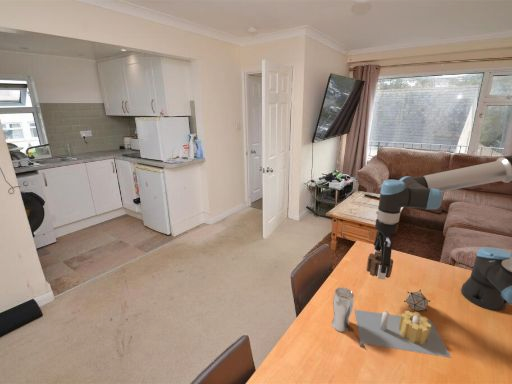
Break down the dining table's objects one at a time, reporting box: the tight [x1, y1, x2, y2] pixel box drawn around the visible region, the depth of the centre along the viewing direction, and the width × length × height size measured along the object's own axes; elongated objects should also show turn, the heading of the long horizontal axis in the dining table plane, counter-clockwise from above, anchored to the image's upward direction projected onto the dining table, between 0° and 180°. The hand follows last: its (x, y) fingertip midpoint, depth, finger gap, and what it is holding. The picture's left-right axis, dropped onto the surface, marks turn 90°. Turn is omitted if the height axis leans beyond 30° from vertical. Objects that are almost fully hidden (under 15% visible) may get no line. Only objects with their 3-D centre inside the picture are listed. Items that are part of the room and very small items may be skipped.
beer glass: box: [331, 286, 355, 333], centre depth 98 cm, size 7×7×15 cm
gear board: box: [354, 309, 452, 358], centre depth 95 cm, size 28×16×8 cm, turn 79°
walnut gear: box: [366, 252, 394, 279], centre depth 106 cm, size 9×9×6 cm
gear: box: [399, 310, 431, 344], centre depth 94 cm, size 9×9×6 cm
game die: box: [403, 288, 431, 312], centre depth 107 cm, size 9×8×10 cm
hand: (378, 271), depth 107 cm, fingers closed on walnut gear, 9 cm apart
